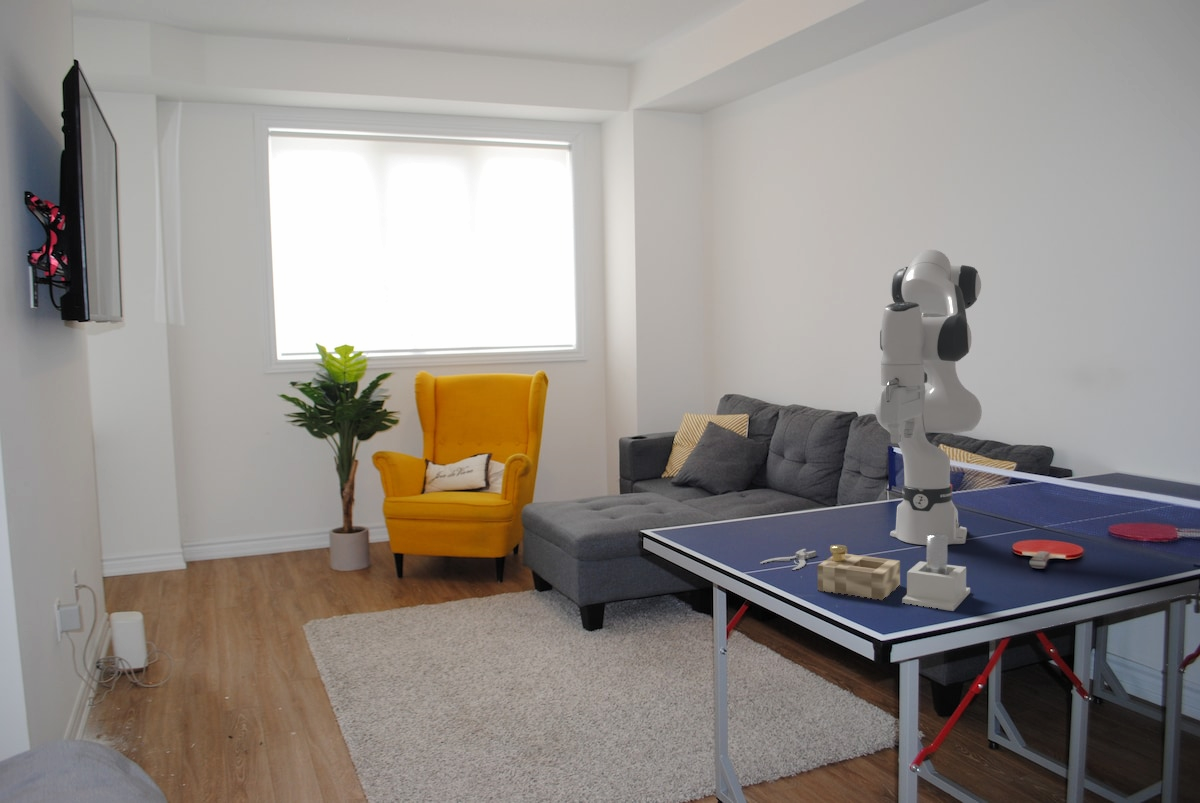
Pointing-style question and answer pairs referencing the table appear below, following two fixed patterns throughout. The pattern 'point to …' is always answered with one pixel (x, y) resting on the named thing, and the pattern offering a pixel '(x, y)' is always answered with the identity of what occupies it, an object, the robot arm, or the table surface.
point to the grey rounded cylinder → (937, 553)
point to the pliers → (798, 555)
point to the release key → (838, 552)
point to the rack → (936, 587)
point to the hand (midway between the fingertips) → (902, 440)
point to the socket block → (859, 576)
